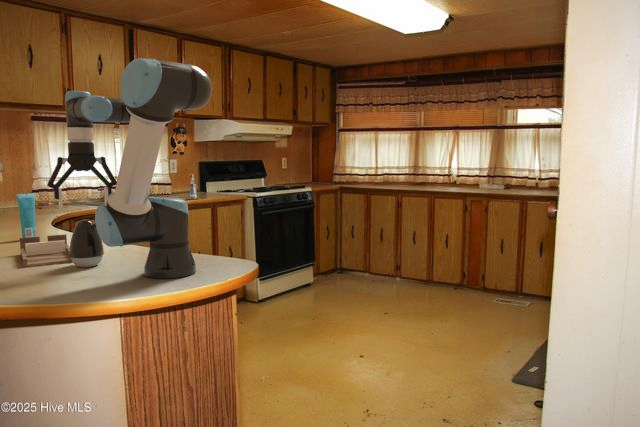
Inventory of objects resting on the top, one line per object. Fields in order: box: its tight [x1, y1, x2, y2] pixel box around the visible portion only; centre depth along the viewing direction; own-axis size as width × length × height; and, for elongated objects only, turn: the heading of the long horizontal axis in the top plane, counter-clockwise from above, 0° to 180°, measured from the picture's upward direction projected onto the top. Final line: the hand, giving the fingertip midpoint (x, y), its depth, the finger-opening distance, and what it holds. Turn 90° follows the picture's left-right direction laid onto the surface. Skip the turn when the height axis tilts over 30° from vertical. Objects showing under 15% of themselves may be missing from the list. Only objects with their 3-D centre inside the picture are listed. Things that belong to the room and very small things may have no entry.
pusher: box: [25, 240, 66, 255], centre depth 187 cm, size 8×12×4 cm, turn 122°
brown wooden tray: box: [19, 234, 73, 268], centre depth 181 cm, size 24×15×6 cm, turn 32°
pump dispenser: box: [69, 218, 105, 268], centre depth 169 cm, size 10×10×15 cm
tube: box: [15, 192, 37, 238], centre depth 217 cm, size 7×5×19 cm, turn 152°
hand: (84, 208), depth 168 cm, fingers open, 13 cm apart
